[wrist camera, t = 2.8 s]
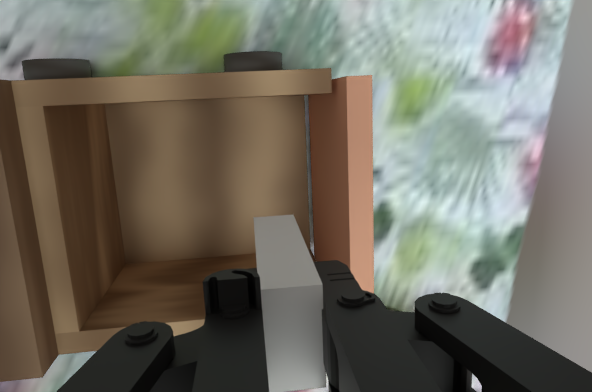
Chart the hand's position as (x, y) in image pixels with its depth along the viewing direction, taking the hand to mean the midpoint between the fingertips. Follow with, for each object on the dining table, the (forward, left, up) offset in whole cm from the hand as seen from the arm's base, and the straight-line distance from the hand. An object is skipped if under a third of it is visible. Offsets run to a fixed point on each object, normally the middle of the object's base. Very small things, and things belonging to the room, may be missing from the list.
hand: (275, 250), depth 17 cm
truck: (-5, -2, -19) cm, 20 cm away
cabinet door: (+4, +1, -17) cm, 17 cm away
